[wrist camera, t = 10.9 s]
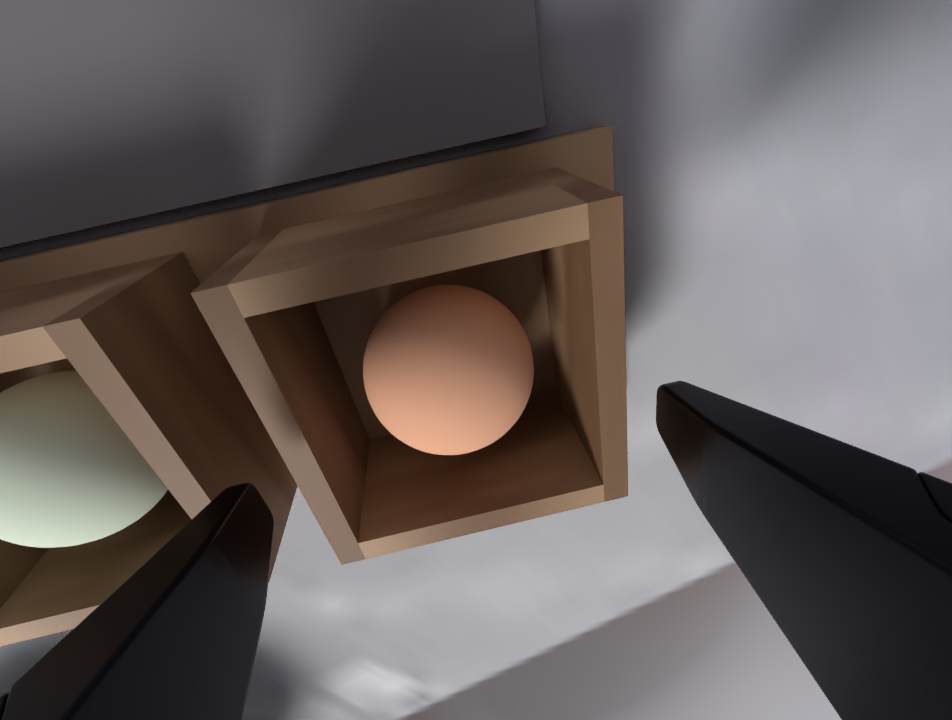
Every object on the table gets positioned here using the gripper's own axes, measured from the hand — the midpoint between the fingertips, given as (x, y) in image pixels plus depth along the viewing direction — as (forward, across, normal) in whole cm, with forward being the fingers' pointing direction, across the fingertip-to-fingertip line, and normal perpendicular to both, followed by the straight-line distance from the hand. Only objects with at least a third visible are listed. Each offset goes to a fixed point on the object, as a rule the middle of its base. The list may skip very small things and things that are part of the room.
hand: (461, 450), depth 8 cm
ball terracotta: (+5, 0, 0) cm, 5 cm away
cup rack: (+6, +4, 0) cm, 7 cm away
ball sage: (+5, +9, 0) cm, 10 cm away
